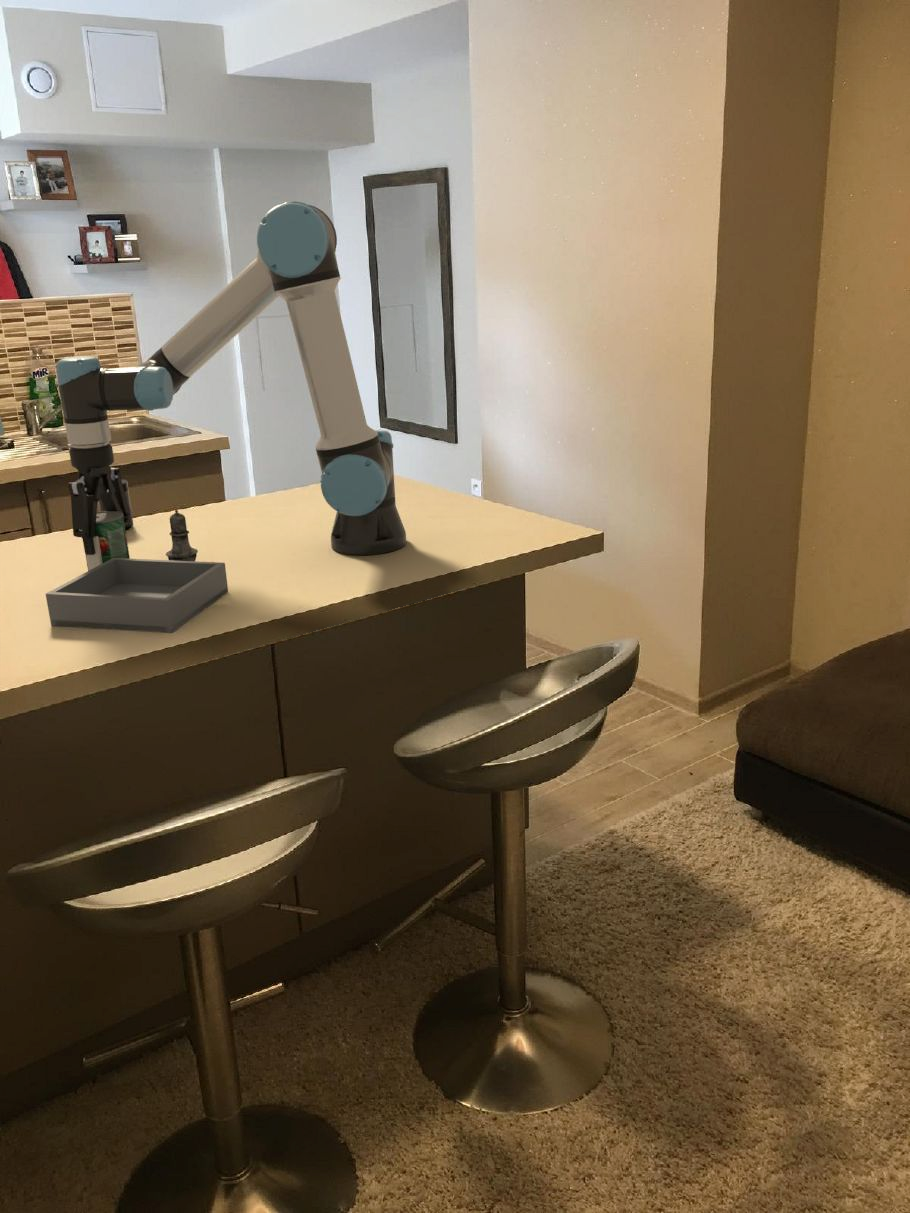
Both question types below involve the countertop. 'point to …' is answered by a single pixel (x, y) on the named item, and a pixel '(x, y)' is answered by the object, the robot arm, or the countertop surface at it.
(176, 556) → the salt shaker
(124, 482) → the supplement container
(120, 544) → the canned tomato
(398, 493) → the countertop surface
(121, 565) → the tote
